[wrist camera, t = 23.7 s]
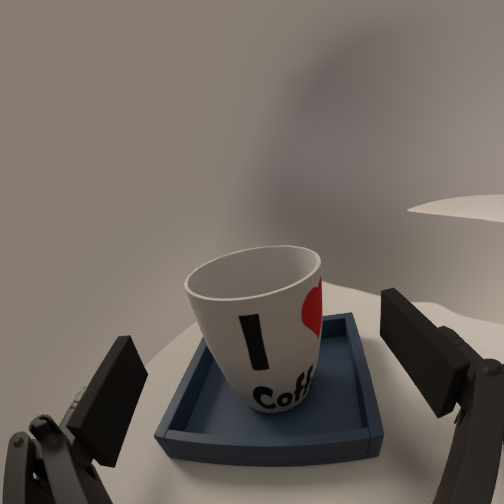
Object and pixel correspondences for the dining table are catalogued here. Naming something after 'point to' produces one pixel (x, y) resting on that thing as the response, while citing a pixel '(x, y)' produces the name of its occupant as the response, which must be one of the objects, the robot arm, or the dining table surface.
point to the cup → (262, 321)
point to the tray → (281, 423)
